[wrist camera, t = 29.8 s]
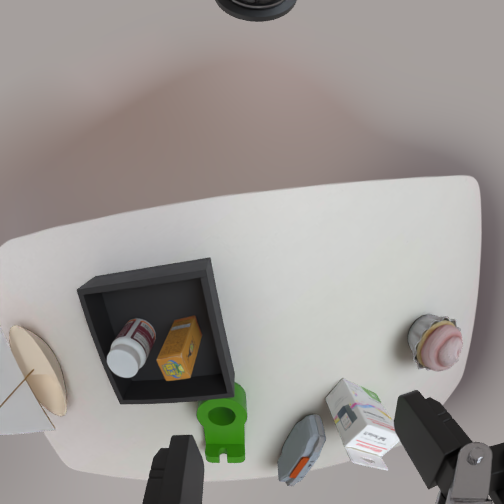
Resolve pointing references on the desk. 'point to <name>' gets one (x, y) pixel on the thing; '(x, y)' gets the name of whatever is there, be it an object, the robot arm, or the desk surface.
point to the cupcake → (435, 342)
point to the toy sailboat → (28, 383)
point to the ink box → (362, 423)
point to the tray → (162, 329)
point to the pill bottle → (131, 348)
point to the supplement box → (180, 349)
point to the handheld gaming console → (301, 449)
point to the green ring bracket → (224, 426)
